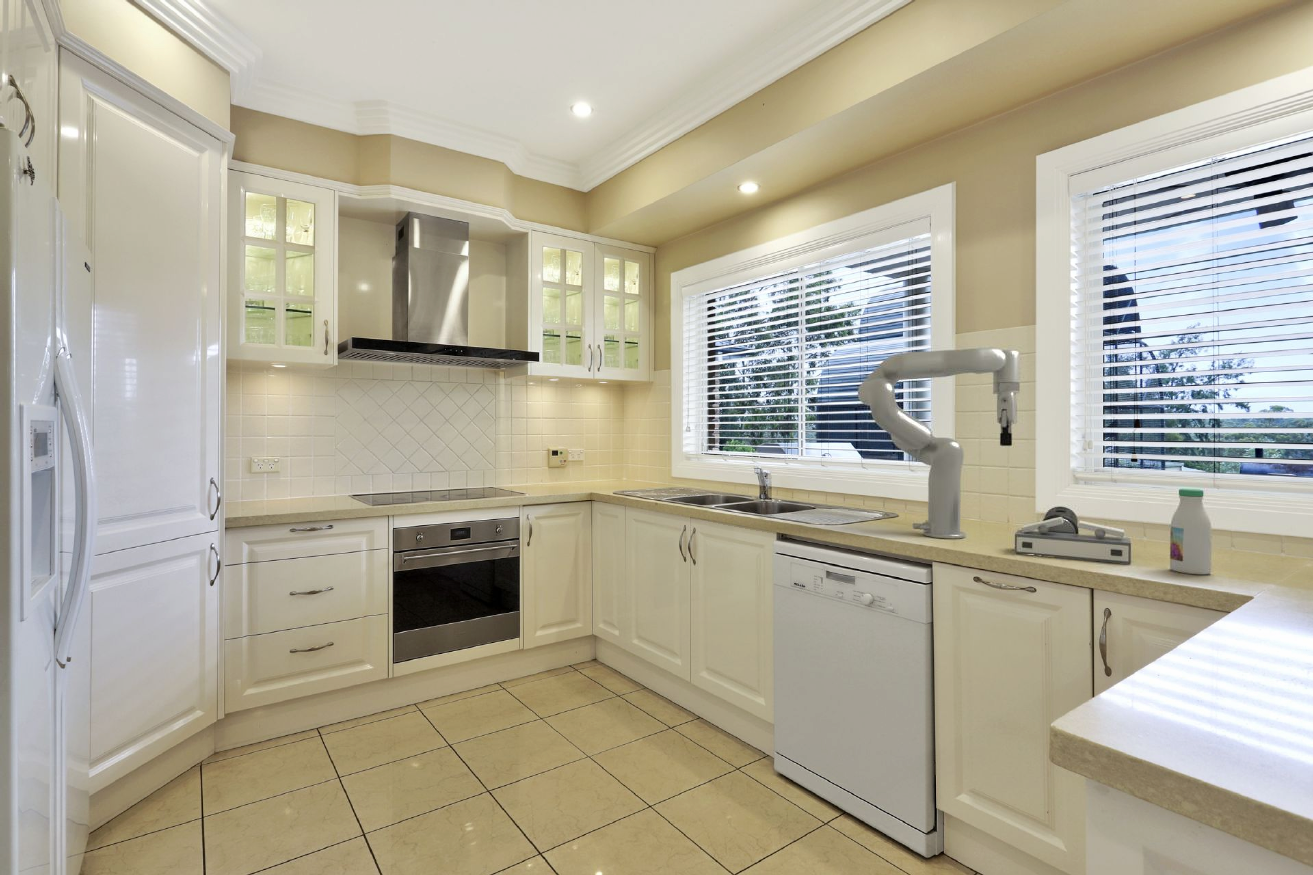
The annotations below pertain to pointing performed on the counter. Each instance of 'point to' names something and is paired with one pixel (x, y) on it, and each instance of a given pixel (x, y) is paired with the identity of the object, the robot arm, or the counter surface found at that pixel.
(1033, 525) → the switch
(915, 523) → the robot arm
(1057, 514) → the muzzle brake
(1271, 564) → the counter surface
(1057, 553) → the switch box
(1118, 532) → the switch
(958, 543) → the counter surface
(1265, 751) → the counter surface
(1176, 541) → the milk bottle
